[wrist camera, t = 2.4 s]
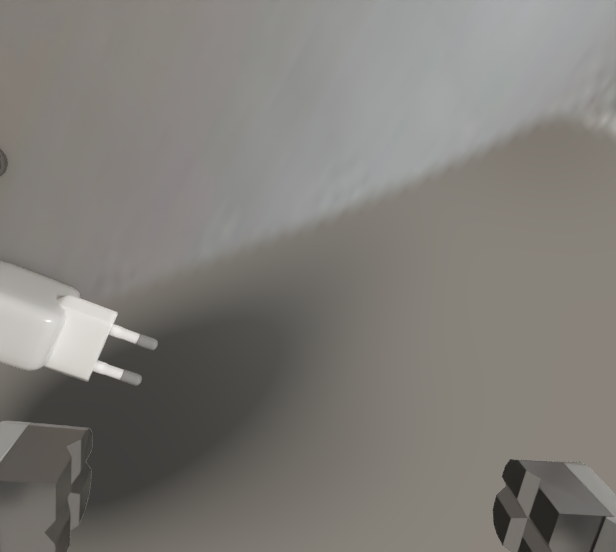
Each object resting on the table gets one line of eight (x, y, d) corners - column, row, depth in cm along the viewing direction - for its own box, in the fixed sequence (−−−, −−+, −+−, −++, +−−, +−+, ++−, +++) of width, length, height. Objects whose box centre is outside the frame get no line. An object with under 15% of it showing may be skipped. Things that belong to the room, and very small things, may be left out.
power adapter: (168, 311, 34) (160, 346, 29) (140, 373, 35) (128, 417, 30) (-5, 244, 31) (-51, 268, 26) (-32, 313, 32) (-82, 351, 27)
